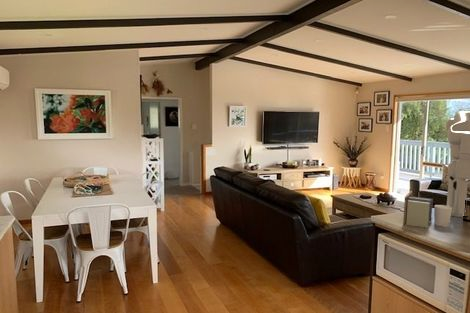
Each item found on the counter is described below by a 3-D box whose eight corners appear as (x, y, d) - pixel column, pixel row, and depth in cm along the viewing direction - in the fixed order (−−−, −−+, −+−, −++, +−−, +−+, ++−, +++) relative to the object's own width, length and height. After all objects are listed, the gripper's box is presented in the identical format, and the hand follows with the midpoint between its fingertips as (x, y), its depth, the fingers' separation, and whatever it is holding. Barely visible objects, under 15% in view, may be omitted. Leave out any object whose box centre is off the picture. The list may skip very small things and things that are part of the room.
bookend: (412, 215, 202) (413, 195, 201) (432, 218, 196) (433, 197, 195) (411, 217, 198) (412, 197, 196) (431, 220, 192) (432, 199, 191)
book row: (407, 222, 189) (409, 197, 187) (428, 225, 183) (430, 199, 181) (406, 224, 184) (407, 198, 183) (427, 228, 178) (429, 201, 177)
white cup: (443, 227, 179) (444, 209, 178) (429, 223, 186) (431, 205, 185) (453, 226, 182) (455, 207, 181) (440, 222, 189) (441, 204, 188)
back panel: (408, 216, 200) (410, 190, 199) (410, 216, 200) (412, 191, 198) (403, 224, 185) (404, 196, 183) (405, 224, 184) (406, 197, 183)
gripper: (489, 157, 173) (486, 191, 175) (448, 155, 183) (446, 187, 185) (489, 158, 167) (486, 193, 169) (447, 156, 177) (445, 189, 179)
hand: (465, 190), depth 177 cm, fingers open, 8 cm apart
